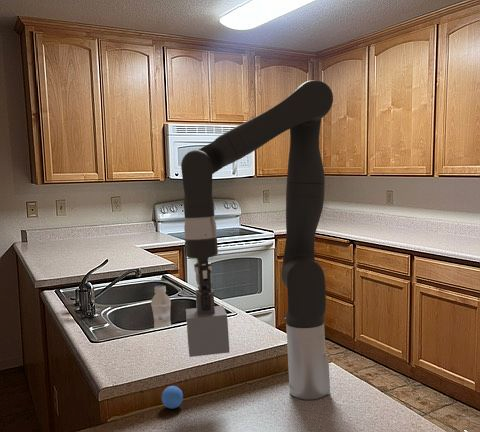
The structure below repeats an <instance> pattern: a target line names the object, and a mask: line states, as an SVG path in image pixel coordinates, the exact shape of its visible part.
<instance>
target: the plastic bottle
mask: <svg viewBox="0 0 480 432" xmlns="http://www.w3.org/2000/svg"><path fill="white" fill-rule="evenodd" d="M166 288H167V287H166V285H156V286H154V295H153V297H152V298H151V301H150V305H151V309H152V315H153V323H154V325H153V326H154V327H153V329H154V328H158V327H163V326H167V325H171V326H172V322H171V305H172V303H171V302H172V301H171V299H170V297H169V295H168V294H166V292H167V289H166Z"/></svg>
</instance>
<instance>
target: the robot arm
mask: <svg viewBox="0 0 480 432" xmlns="http://www.w3.org/2000/svg"><path fill="white" fill-rule="evenodd" d="M333 102H334V95H333V91H332V89H331V88H330V86H329V85H328V84H326V82H324V81H321V80H318V79H317V80H316V79H313V80H308V81H305V82H303V83H302V84H300V85H299V86H298V87H296V88H295V90H294V91H293V92H292V93H291V94H290V95H288V96H287V97H286V98H285V99H284V100H281V101H280V102H279V103H277V104H276V105H275V106H273V107H271V108H270V109H268V110H266V111H263V112H262V113H261V114H259V115H255V116H254V117H252V118H250V119H249V120H247V121H245V122H243V123H241V124H239V125H237V126H234V127H233V128H232V129H230V130H228V131H226V132H224V133H223V134H221V135H220V136H218V137H216V138H215V139H214V140H213V141H211V142H210V143H208V144H206V145H204V146H202V147H201V148H199V149H193V150H190V151H188V152H187V153H186V154H185V155H184V156H183V157H182V160H181V164H180V168H181V176H182V185H183V193H184V196H183V214H184V229H183V230H184V245H185V255H186V257H187V258H188V259H196V263H194V264H193V265H194V266H193V267H194V268H193V269H194V272H195V281H196V284H197V290H200V292H199V294H200V296H201V309H202V311H210V310H211V301H210V294H211V292H212V290H213V289H212V284H213V283H212V282H213V280H212V279H213V278H212V271H213V266H212V263H211V262H209V258H213V257H216V256H217V255H218V253H219V249H218V248H219V247H218V246H219V245H218V237H217V235H218V234H217V222H216V218H215V203H214V197H213V196H214V195H213V175H214V174H215V173H217V172H218V171H220V170H221V169H223V168H225V167H226V166H229V165H231V164H233V163H235V162H238V161H239V160H241V159H242V158H245V157H246V156H248V155H249V154H251V153H253V152H254V151H256V150H258V149H259V148H261V147H263V146H264V145H266V144H267V143H268V142H270V141H271V140H272V141H273V139H275V138H276V137H278V136H279V135H281V134H282V133H284V132H286V131H288V130H289V135H290V136H289V138H290V142H289V153H288V161H287V163H288V164H287V171H286V172H287V174H286V175H287V176H286V185H285V186H286V189H285V190H286V191H285V231H286V235H285V236H286V237H285V245H284V252H283V260H282V265H281V271H280V272H281V273H280V275H281V280H282V283H283V284H284V286H285V287H286V291H287V311H286V312H285V326H286V329H285V330H286V345H287V346H286V347H287V348H286V349H287V362H288V364H287V365H288V367H287V368H288V386H289V393H290V395H291V396H293V398H294V397H295V398H297V399H301V400H307V401H308V400H317V399H321V398H323V397H326V396H327V395H331V383H330V382H331V381H330V379H331V378H330V363H329V361H330V360H329V359H330V358H329V355H328V353H326V336H325V335H326V334H325V315H326V311H327V300H326V299H327V298H326V297H327V296H326V292H327V290H326V277H325V272H324V270H323V268H322V266H321V265H320V264H319V263H318V262H316V259H315V258H316V256H315V241H316V239H315V237H316V233H317V229H318V226H319V222H320V219H321V217H322V216H321V215H322V214H323V213H322V212H323V207H324V202H325V183H326V180H325V178H326V177H325V176H326V175H325V171H324V170H325V169H324V165H323V160H322V156H321V149H320V134H321V132H320V131H321V123H322V119H323V118H324V117H325V116H327V115H328V113H329V112H330V110H331V109H332V106H333ZM211 289H212V290H211Z"/></svg>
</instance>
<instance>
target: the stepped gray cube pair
mask: <svg viewBox="0 0 480 432" xmlns="http://www.w3.org/2000/svg"><path fill="white" fill-rule="evenodd" d="M211 290H212V292H211V294H210V301H211V310H210V311H202V309H201V296H200V294H199V292H200V290H199V289H195V302H196V304H195V305H196V306H195V307H196V308H195V307H193V308H185V316H186V317H185V318H186V321H185V322H186V333H187V334H186V335H187V345H188V354H189V355H188V356H189V357H190V358H194V357H201V356H202V357H203V356H210V355H211V356H212V355H219V354H220V355H221V354H227V353H230V352H231V351H230V340H229V339H230V338H229V337H230V336H229V324H228V323H229V321H228V314H227V312H226V309H225V307H224V305H216V306H215V295H214V293H215V292H214V290H213V288H211Z"/></svg>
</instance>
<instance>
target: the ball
mask: <svg viewBox="0 0 480 432" xmlns="http://www.w3.org/2000/svg"><path fill="white" fill-rule="evenodd" d="M183 399H184V394H183V391H182V390H181V389H180V388H179V387H178V386H176V385H169V386H168V387H166V388H165V389H164V390H163V391H162V394H161V402H162V404H163V405H164V407H165V408H168V409H173V410H174V409H177V408H178V407H179V406H180V405H181V404H182V402H183Z"/></svg>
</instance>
